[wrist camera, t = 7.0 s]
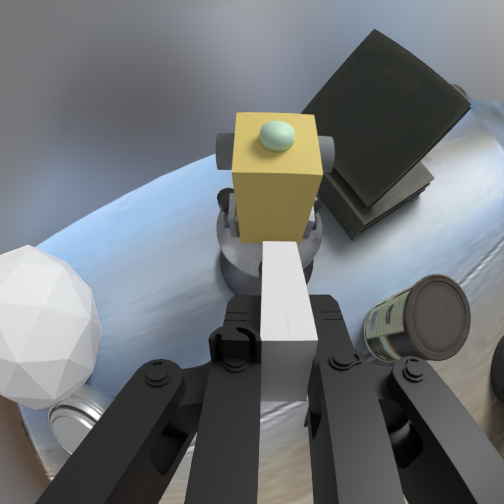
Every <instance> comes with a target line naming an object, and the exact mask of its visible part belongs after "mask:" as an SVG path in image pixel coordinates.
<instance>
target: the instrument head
mask: <svg viewBox="0 0 504 504" xmlns="http://www.w3.org/2000/svg"><path fill="white" fill-rule="evenodd" d="M216 140H217V141H216V163H217V168H218V170H232V179H233V186H234V194H235V201H236V209H237V216H238V224H239V231H240V238H241V243H254V244H263V241H283V242H296V244H300V243H301V240H302V237H303V234H304V231H305V229H306V226H307V223H308V220H309V217H310V214H311V211H312V208H313V205H314V202H315V199H316V196H317V193H318V189H319V186H320V183H321V180H322V177H323V172H328V173H330V172H331V171H332V169H333V165H334V157H335V148H334V141H333V138H332V137H329V136H317V129H316V123H315V117H314V115H308V114H292V113H256V112H255V113H254V112H252V113H251V112H249V113H248V112H246V113H244V112H241V113H237V118H236V129H235V133H219V134H218V135H217V139H216Z"/></svg>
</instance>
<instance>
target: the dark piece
mask: <svg viewBox="0 0 504 504" xmlns="http://www.w3.org/2000/svg"><path fill="white" fill-rule="evenodd" d="M470 105H471V104H470V103H469V102H468V101H467V100H466V99H465V98H464V97H463V96H462V95H461V94H460V93H459V92H458V91H457V90H456V89H455V88H453V87H452V86H451V85H450V84H449V83H448V82H447V81H446V80H444V79H443V78H442V77H441V76H440V75H439V74H437V73H436V72H435V71H434V70H432V69H431V68H430V67H429V66H427V65H426V64H425V63H424V62H422V61H421V60H420V59H418V58H417V57H416V56H414V55H413V54H411V53H410V52H409V51H408V50H406V49H405V48H403V47H402V46H400V45H399V44H397V43H396V42H395V41H393V40H391V39H390V38H388V37H387V36H385V35H384V34H382V33H380V32H379V31H377V30H376V29H373V31H372V32H371V33H370V34H369V35H368V36H367V37H366V38H365V39H364V41H363V42H362V43H361V44H360V45H359V46H358V47H357V48H356V49H355V50H354V52H353V53H352V54H351V55H350V56H349V57H348V58H347V60H346V61H345V62H344V63H343V64H342V65H341V66H340V68H339V69H338V70H337V71H336V72H335V73H334V75H333V76H332V77H331V78H330V79H329V80H328V82H327V83H326V84H325V85H324V86H323V87H322V89H321V90H320V91H319V92H318V94H317V95H316V96H315V97H314V98H313V99H312V101H311V102H310V103H309V104H308V105H307V107H306V108H305V109H304V110H303V112H302V113H301V114H308V115H314V117H315V123H316V129H317V136H329V137H332V138H333V141H334V148H335V157H334V165H333V169H332V171H331V172H330V173H328V172H323V177H322V180H321V183H320V186H319V189H318V192H319V193H320V194H321V195H322V197H323V202H324V204H325V205H326V206H327V207H328V209H329V210H330V211H331V213H332V214H333V215H334V217H335V218H336V219H337V220H338V222H339V223H340V224H341V226H342V227H343V228H344V230H345V231H346V233H347V234H348V235H349V237H350V238H351V239H352V241H353V240H354V239H355V237H356V236H358V235H359V234H361V233H362V232H364V231H365V230H367V229H368V228H370V227H372V226H373V225H375V224H376V223H378V222H379V221H381V220H382V219H384V218H385V217H387V216H388V215H390V214H391V213H393V212H394V211H396V210H397V209H398V208H400V207H401V206H403V205H404V204H406V203H407V202H409V201H410V200H412V199H413V198H415V197H416V196H417V195H419V194H420V193H422V192H423V191H425V188H426V187H427V186H429V185H430V183H429V182H431V181H432V180H434V179H435V178H434V177H433V176H432V174H431V173H430V172H429V171H428V170H427V168H426V167H425V166H424V165H423V164H422V163H421V162H420V160H421V159H422V158H423V157H424V156H425V155H426V154H427V153H428V152H429V151H430V150H431V149H432V148H433V147H434V146H435V145H436V144H437V143H438V142H439V141H440V140H441V139H442V138H443V137H444V136H445V135H446V134H447V133H448V132H449V131H450V130H451V129H452V128H453V127H454V126H455V125H456V124H457V123H458V122H459V121H460V120H461V119H462V117H463V116H464V115H465V114H466V113H467V112H468V111H469V110H470V109H471V108H470V107H469V106H470Z"/></svg>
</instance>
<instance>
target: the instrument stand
mask: <svg viewBox="0 0 504 504" xmlns="http://www.w3.org/2000/svg"><path fill="white" fill-rule="evenodd" d="M217 200H218V204H219V208H220V209H221V211H220V213H219V216H218V220H217V238H218V241H219V245H220V247H221V250H222V252H221V258H220V265H221V271H222V275H223V277H224V280H225V282H226V284H227V286H228V287H229V289H230V290H231V291H232V292H233V293H234V294H235V295H262V262H263V244H254V243H241V238H240V231H239V224H238V216H237V209H236V201H235V194H234V189H232V188H225V189H223V190H221V191H220V192H219V193H218V195H217ZM322 203H323V197H322V195H321V194H320V193H319V192H318V193H317V196H316V199H315V202H314V205H313V208H312V211H311V214H310V217H309V220H308V223H307V226H306V229H305V231H304V234H303V237H302V240H301V243H300V244H297V248H298V252H299V256H300V260H301V264H302V269H303V273H304V277H305V282H306V285H307V283H308V281H309V279H310V277H311V274H312V269H313V258H314V256H315V255H316V253H317V251H318V249H319V247H320V244H321V241H322V234H323V227H322V220H321V217H320V214H319V210H320V208H321V205H322Z"/></svg>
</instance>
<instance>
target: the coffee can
mask: <svg viewBox="0 0 504 504" xmlns="http://www.w3.org/2000/svg"><path fill="white" fill-rule="evenodd" d="M470 323H471V313H470V307H469V303H468V300H467V297H466V295H465V293H464V291H463V290H462V288H461V287H460V286H459V284H457V282H455V281H454V280H453V279H451V278H450V277H448V276H445V275H441V274H432V275H428V276H426V277H424V278H422V279H421V280H420V281H418V282H417V283H416V284H414V285H412V286H410V287H409V288H407V289H405V290H403V291H401V292H399V293H397V294H396V295H394V296H392V297H390V298H388V299H386V300H383V301H381V302H379V303H377V304H376V305H375V306H374V307H373V308H372V309H371V310H370V311H369V313H368V314H367V317H366V319H365V323H364V340H365V343H366V346H367V348H368V350H369V351H370V352H371V354H372V355H373V356H375V357H376V358H377V359H379V360H381V361H384V362H396V361H397V360H399V359H400V358H402V357H407V356H413V357H418V358H420V359H423V360H425V361H426V360H432V361H442V360H446V359H449V358H451V357H452V356H454V355H455V354H456V353H457V352H458V351H459V350H460V349H461V348H462V347H463V345H464V343H465V341H466V339H467V337H468V334H469V330H470Z"/></svg>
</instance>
